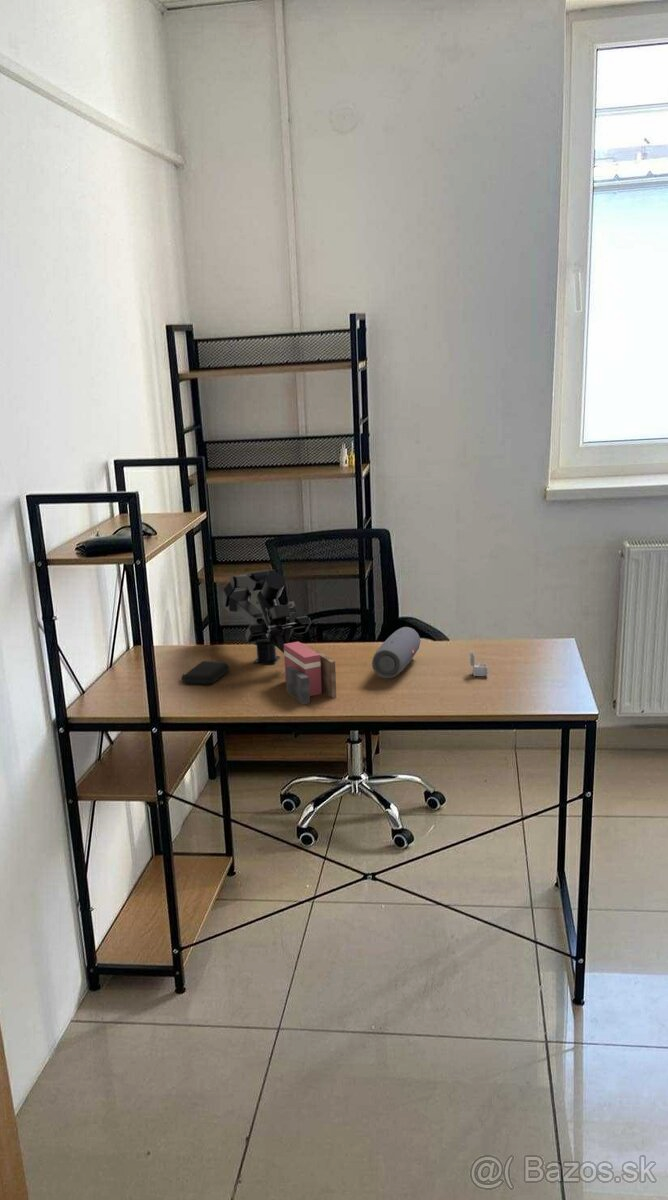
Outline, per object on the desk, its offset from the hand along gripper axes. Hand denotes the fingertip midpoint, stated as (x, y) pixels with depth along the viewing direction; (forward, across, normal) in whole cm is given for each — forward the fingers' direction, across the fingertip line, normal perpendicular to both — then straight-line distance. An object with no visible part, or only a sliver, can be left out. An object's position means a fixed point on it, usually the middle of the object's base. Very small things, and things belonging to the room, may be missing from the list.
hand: (287, 654), depth 254 cm
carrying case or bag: (-4, -21, +14) cm, 25 cm away
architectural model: (+22, +50, -12) cm, 56 cm away
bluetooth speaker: (+12, +29, -3) cm, 32 cm away
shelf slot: (+16, 0, -7) cm, 18 cm away
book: (+12, 0, -2) cm, 12 cm away
